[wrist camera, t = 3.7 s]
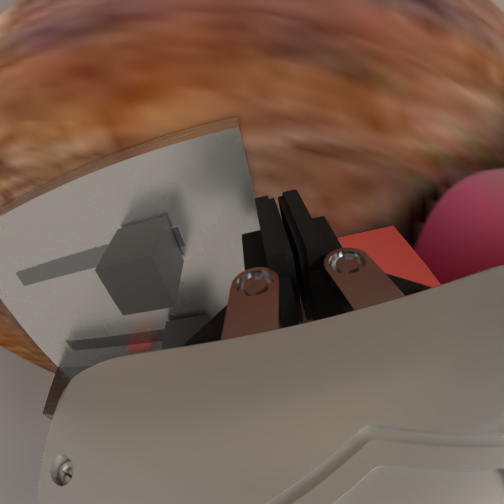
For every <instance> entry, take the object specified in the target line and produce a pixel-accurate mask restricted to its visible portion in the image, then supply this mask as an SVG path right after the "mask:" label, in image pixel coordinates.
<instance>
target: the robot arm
mask: <svg viewBox="0 0 504 504" xmlns="http://www.w3.org/2000/svg"><path fill="white" fill-rule="evenodd" d="M254 200H255V205H256V210H257V215H258V220H259V225H260V230H258V231H253V232H249V233H244V234H242V246H243V257H244V268H245V271H243V272H241V273H240V274H238V275H237V276H236V277H235V278H234V279H233V281H232V284H231V288H230V293H229V298H228V304H227V305H226V306H225V307H224V308H223V309H222V310H221V311H220V312H219V313H218V314H216V315H215V316H214V317H213V318H212V319H211V320H210V321H209V322H208V323H207V324H206V325H204V326H203V327H202V328H201V329H200V330H199V331H198V332H197V333H196V334H195V335H193V336H192V337H191V338H190V339H189V340H188V341H187V342H186V343H185V344H184V345H183V346H182V347H175V348H168V349H162V350H156V351H149V352H143V353H136V354H130V355H126V356H121V357H117V358H113V359H110V360H107V361H104V362H101V363H98V364H96V365H94V366H92V367H90V368H88V369H86V370H84V371H82V372H81V373H79V374H78V375H76V376H75V377H74V378H73V379H72V380H71V381H70V382H69V383H68V385H67V386H66V388H65V389H64V391H63V393H62V395H61V397H60V399H59V402H58V404H57V407H56V410H55V413H54V416H53V419H52V422H51V425H50V429H49V433H48V437H47V441H46V446H45V450H44V455H43V461H42V467H41V474H40V481H39V489H38V499H37V504H504V265H502V266H498V267H493V268H489V269H487V270H484V271H480V272H477V273H475V274H471V275H468V276H465V277H462V278H459V279H456V280H454V281H451V282H448V283H445V284H442V285H439V286H436V287H433V288H432V287H429V286H426V285H423V284H420V283H417V282H413V281H410V280H407V279H403V278H400V277H397V276H393V275H390V274H387V273H384V271H383V270H382V269H381V268H380V267H379V266H378V265H377V264H376V263H375V262H374V261H373V260H372V259H371V257H370V256H369V255H368V254H367V253H365V252H364V251H362V250H360V249H357V248H351V247H347V248H342V246H341V244H340V242H339V241H338V239H337V237H336V235H335V234H334V232H333V230H332V229H331V227H330V225H329V224H328V222H327V220H326V219H325V217H324V216H322V217H317V218H313V219H312V218H311V216H310V214H309V212H308V210H307V208H306V206H305V204H304V203H303V201H302V199H301V197H300V195H299V193H298V192H297V190H291V191H286V192H283V196H280V197H278V200H279V206H280V211H281V216H282V220H281V217H280V214H279V211H278V208H277V205H276V202H275V200H274V198H271V199H269V198H268V196H263V197H259V198H254ZM282 222H283V223H282ZM299 293H300V296H301V300H302V303H303V307H304V310H305V314H306V317H307V320H311V319H313V321H312V322H308V323H303V324H299V323H298V322H302V321H303V318H302V311H301V304H300V297H299Z"/></svg>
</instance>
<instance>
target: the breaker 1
mask: <svg viewBox="0 0 504 504" xmlns="http://www.w3.org/2000/svg"><path fill="white" fill-rule="evenodd" d="M183 263H184V260H183V257H182V255H181V253H180V250H179V248H178V245H177V243H176V240H175V238H174V235H173V233H172V230H171V228H170V225H169V223H168V220H167V218H166V216H163V217H159V218H156V219H152V220H148V221H145V222H141V223H138V224H134V225H131V226H127V227H124V228H120V229H118V230H117V231H116V233H115V235H114V236H113V238H112V240H111V242H110V243H109V245H108V247H107V249H106V251H105V252H104V254H103V256H102V258H101V260H100V262H99V263H98V265H97V267H96V269H95V271H96V273H97V275H98V276H99V278H100V280H101V281H102V283H103V285H104V286H105V288H106V290H107V291H108V293H109V294H110V296H111V298H112V299H113V301H114V302H115V304H116V305H117V307H118V309H119V310H120V312H121V313H122V315H123V316H124V315H130V314H136V313H142V312H148V311H154V310H159V309H165V308H171V307H176V302H177V296H178V290H179V285H180V279H181V274H182V268H183Z"/></svg>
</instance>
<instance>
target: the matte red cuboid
mask: <svg viewBox="0 0 504 504" xmlns="http://www.w3.org/2000/svg"><path fill="white" fill-rule="evenodd" d="M337 239H338V241H339V242H340V244H341V246H342V248H347V247H351V248H357V249H360V250H362V251H364V252H365V253H367V254H368V255H369V256H370V257H371V259H372V260H373V261H374V262H375V263H376V264H377V265H378V266H379V267H380V268H381V269H382V270H383V271H384V273H387V274H390V275H393V276H397V277H400V278H403V279H407V280H410V281H413V282H417V283H420V284H423V285H426V286H429V287H432V288H433V287H436V286H439V285H441V284H440V283H439V281H438V280H437V279H436V277H435V276H434V275H433V273H432V272H431V271H430V270H429V268H428V267H427V266H426V264H425V263H424V262H423V261H422V259H421V258H420V257H419V256H418V255H417V253H416V252H415V251H414V250H413V248H412V247H411V246H410V245H409V244H408V242H407V241H406V240H405V239H404V238H403V236H402V235H401V234H400V233H399V232H398V231H397V230H396V228H395V227H394V226H388V227H384V228H379V229H375V230H370V231H366V232H361V233H357V234H352V235H348V236H343V237H339V238H337ZM312 321H313V319H312Z"/></svg>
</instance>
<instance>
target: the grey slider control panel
mask: <svg viewBox="0 0 504 504" xmlns="http://www.w3.org/2000/svg"><path fill="white" fill-rule="evenodd" d="M254 198H256V197H255V193H254V188H253V184H252V180H251V175H250V171H249V167H248V163H247V158H246V154H245V150H244V146H243V142H242V137H241V133H240V129H239V125H238V121H237V117H233V118H228V119H224V120H220V121H216V122H212V123H208V124H205V125H201V126H197V127H194V128H190V129H187V130H183V131H180V132H176V133H173V134H170V135H167V136H163V137H160V138H157V139H154V140H151V141H148V142H145V143H142V144H139V145H136V146H134V147H131V148H128V149H125V150H123V151H120V152H117V153H115V154H112V155H109V156H107V157H104V158H102V159H99V160H97V161H94V162H92V163H90V164H87V165H85V166H83V167H80V168H78V169H76V170H73V171H71V172H69V173H67V174H65V175H62V176H60V177H58V178H56V179H54V180H52V181H50V182H48V183H46V184H44V185H42V186H40V187H38V188H36V189H34V190H32V191H30V192H28V193H26V194H24V195H22V196H20V197H19V198H17V199H15V200H13V201H11V202H10V203H8V204H6V205H4V206H3V207H1V208H0V298H1V300H2V301H3V302H4V304H5V305H6V306H7V308H8V309H9V310H10V312H11V313H12V314H13V316H14V317H15V318H16V320H17V321H18V322H19V323H20V325H21V326H22V327H23V328H24V330H25V331H26V332H27V333H28V334H29V336H30V337H31V338H32V339H33V340H34V341H35V343H36V344H37V345H38V346H39V347H40V348H41V349H42V351H43V352H44V353H45V354H46V355H47V356H48V357H49V358H50V359H51V360H52V361H53V362H54V363H55V364H56V365H57V367H58V368H57V371H56V374H55V377H54V380H53V383H52V386H51V388H50V392H49V395H48V398H47V401H46V404H45V407H44V411H43V414H44V415H45V416H47V417H48V418H49V419H51V420H52V419H53V416H54V413H55V410H56V407H57V404H58V402H59V399H60V397H61V395H62V393H63V391H64V389H65V388H66V386H67V385H68V383H69V382H70V381H71V380H72V379H73V378H74V377H75V376H76V375H78V374H79V373H81V372H82V371H84V370H86V369H88V368H90V367H92V366H94V365H96V364H98V363H101V362H104V361H107V360H110V359H113V358H117V357H121V356H126V355H130V354H136V353H143V352H149V351H156V350H161V349H162V343H163V337H164V331H165V325H166V321H171V320H177V319H183V318H189V317H195V316H200V315H206V314H207V315H208V317H209V319H210V320H211V319H212V318H213V317H214V316H215V315H216V314H218V313H219V312H220V311H221V310H222V309H223V308H224V307H225V306H226V305H227V304H228V298H229V293H230V288H231V284H232V281H233V279H234V278H235V277H236V276H237V275H238V274H240V273H241V272H243V271H245V268H244V257H243V246H242V234H244V233H249V232H253V231H258V230H260V225H259V220H258V215H257V210H256V205H255V200H254ZM163 216H166V218H167V220H168V223H169V225H170V228H171V230H172V233H173V235H174V238H175V240H176V243H177V245H178V248H179V250H180V253H181V255H182V257H183V260H184V263H183V268H182V274H181V279H180V285H179V290H178V296H177V302H176V307H171V308H165V309H159V310H154V311H148V312H142V313H136V314H130V315H124V316H123V315H122V313H121V312H120V310H119V309H118V307H117V305H116V304H115V302H114V301H113V299H112V298H111V296H110V294H109V293H108V291H107V290H106V288H105V286H104V285H103V283H102V281H101V280H100V278H99V276H98V275H97V273H96V271H95V269H96V267H97V265H98V263H99V262H100V260H101V258H102V256H103V254H104V252H105V251H106V249H107V247H108V245H109V243H110V242H111V240H112V238H113V236H114V235H115V233H116V231H117V230H118V229H120V228H124V227H127V226H131V225H134V224H138V223H141V222H145V221H148V220H152V219H156V218H159V217H163Z"/></svg>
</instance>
